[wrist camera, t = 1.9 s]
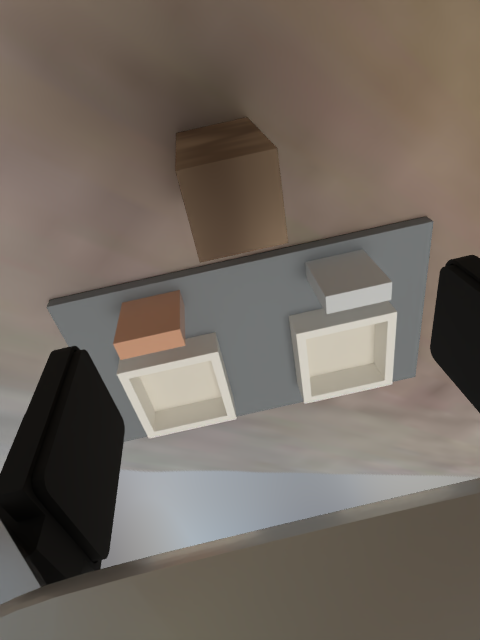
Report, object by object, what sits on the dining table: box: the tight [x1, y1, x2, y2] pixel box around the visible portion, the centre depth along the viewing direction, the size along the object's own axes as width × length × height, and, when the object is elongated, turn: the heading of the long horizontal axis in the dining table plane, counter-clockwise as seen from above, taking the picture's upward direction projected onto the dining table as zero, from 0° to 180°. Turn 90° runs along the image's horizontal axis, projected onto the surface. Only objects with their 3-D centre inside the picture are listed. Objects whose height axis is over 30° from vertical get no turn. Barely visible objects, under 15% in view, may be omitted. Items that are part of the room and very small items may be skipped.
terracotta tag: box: [113, 290, 185, 360], centre depth 28 cm, size 4×1×5 cm, turn 100°
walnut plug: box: [175, 117, 288, 262], centre depth 22 cm, size 4×4×9 cm
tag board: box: [47, 217, 433, 442], centre depth 33 cm, size 29×16×4 cm, turn 100°
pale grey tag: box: [305, 249, 392, 314], centre depth 28 cm, size 4×1×5 cm, turn 100°
